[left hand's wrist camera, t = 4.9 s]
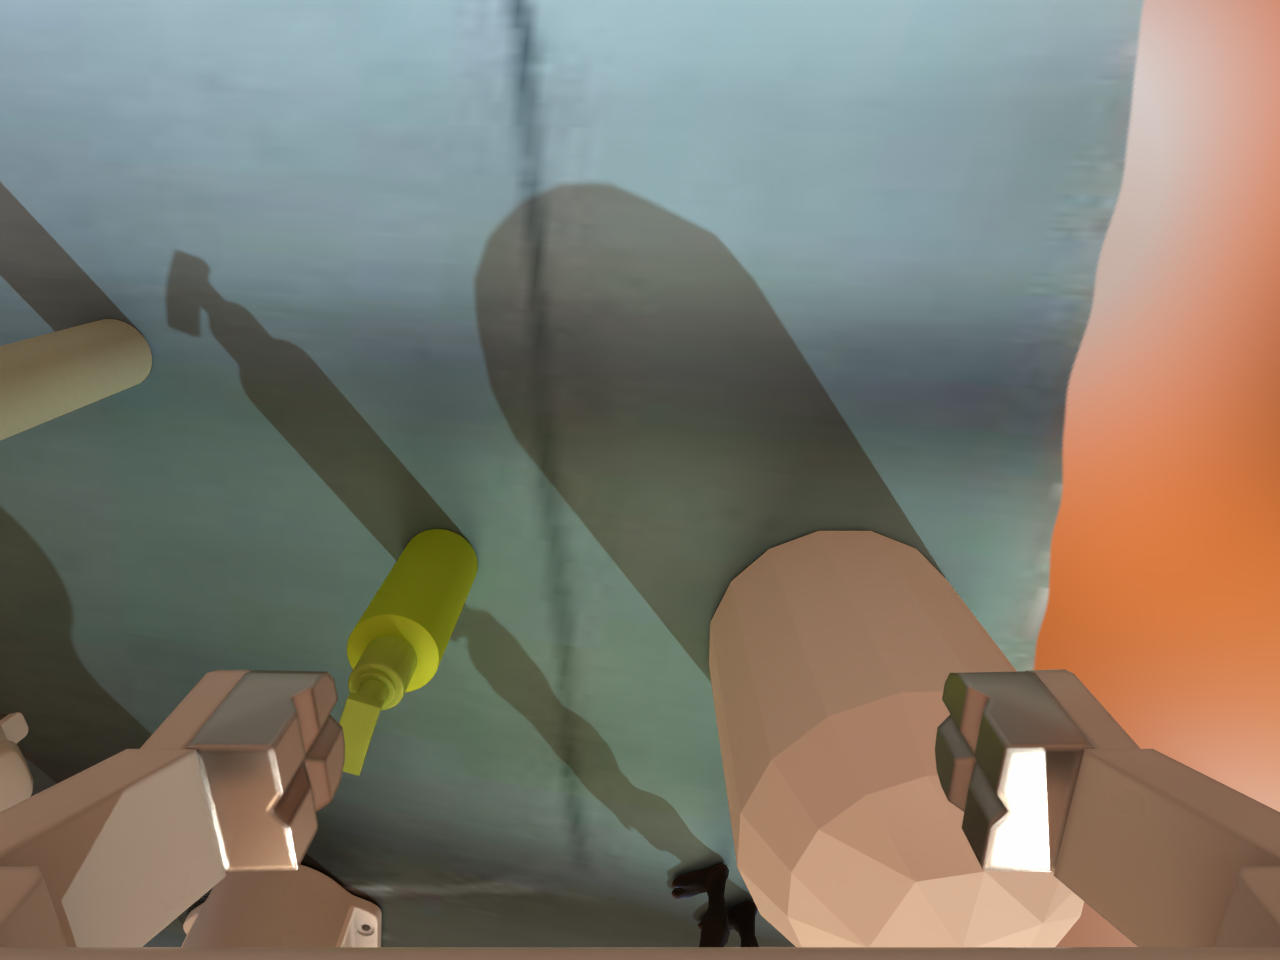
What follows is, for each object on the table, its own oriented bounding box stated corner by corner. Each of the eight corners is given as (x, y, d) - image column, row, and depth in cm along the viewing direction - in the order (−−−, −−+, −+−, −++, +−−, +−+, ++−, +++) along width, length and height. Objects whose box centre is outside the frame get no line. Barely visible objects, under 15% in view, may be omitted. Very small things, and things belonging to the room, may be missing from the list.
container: (998, 552, 63) (1255, 819, 37) (913, 765, 70) (1077, 1114, 44) (741, 504, 61) (816, 748, 35) (682, 727, 69) (708, 1065, 42)
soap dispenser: (392, 592, 64) (289, 762, 45) (414, 518, 62) (316, 666, 43) (462, 614, 65) (390, 792, 46) (487, 543, 62) (421, 698, 44)
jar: (157, 389, 58) (-48, 478, 41) (88, 383, 58) (-147, 471, 41) (147, 321, 56) (-71, 384, 39) (76, 315, 56) (-174, 376, 39)
